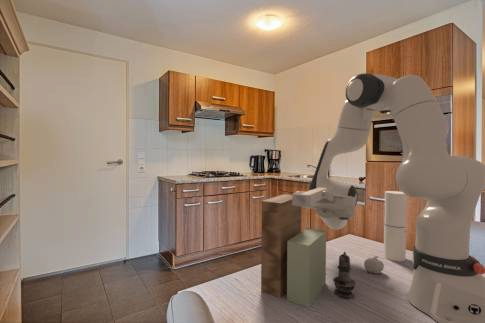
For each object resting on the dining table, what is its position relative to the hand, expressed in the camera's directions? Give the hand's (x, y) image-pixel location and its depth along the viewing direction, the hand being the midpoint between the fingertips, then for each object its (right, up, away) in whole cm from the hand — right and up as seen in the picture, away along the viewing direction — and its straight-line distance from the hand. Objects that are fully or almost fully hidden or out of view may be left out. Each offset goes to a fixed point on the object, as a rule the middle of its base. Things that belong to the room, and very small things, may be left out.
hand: (317, 192), depth 83 cm
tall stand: (-12, -27, -4) cm, 30 cm away
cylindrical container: (+34, -27, +17) cm, 47 cm away
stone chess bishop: (+5, -28, -9) cm, 30 cm away
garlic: (+20, -27, +4) cm, 34 cm away
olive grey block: (-5, -27, -8) cm, 29 cm away
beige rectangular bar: (-3, -2, -4) cm, 5 cm away
